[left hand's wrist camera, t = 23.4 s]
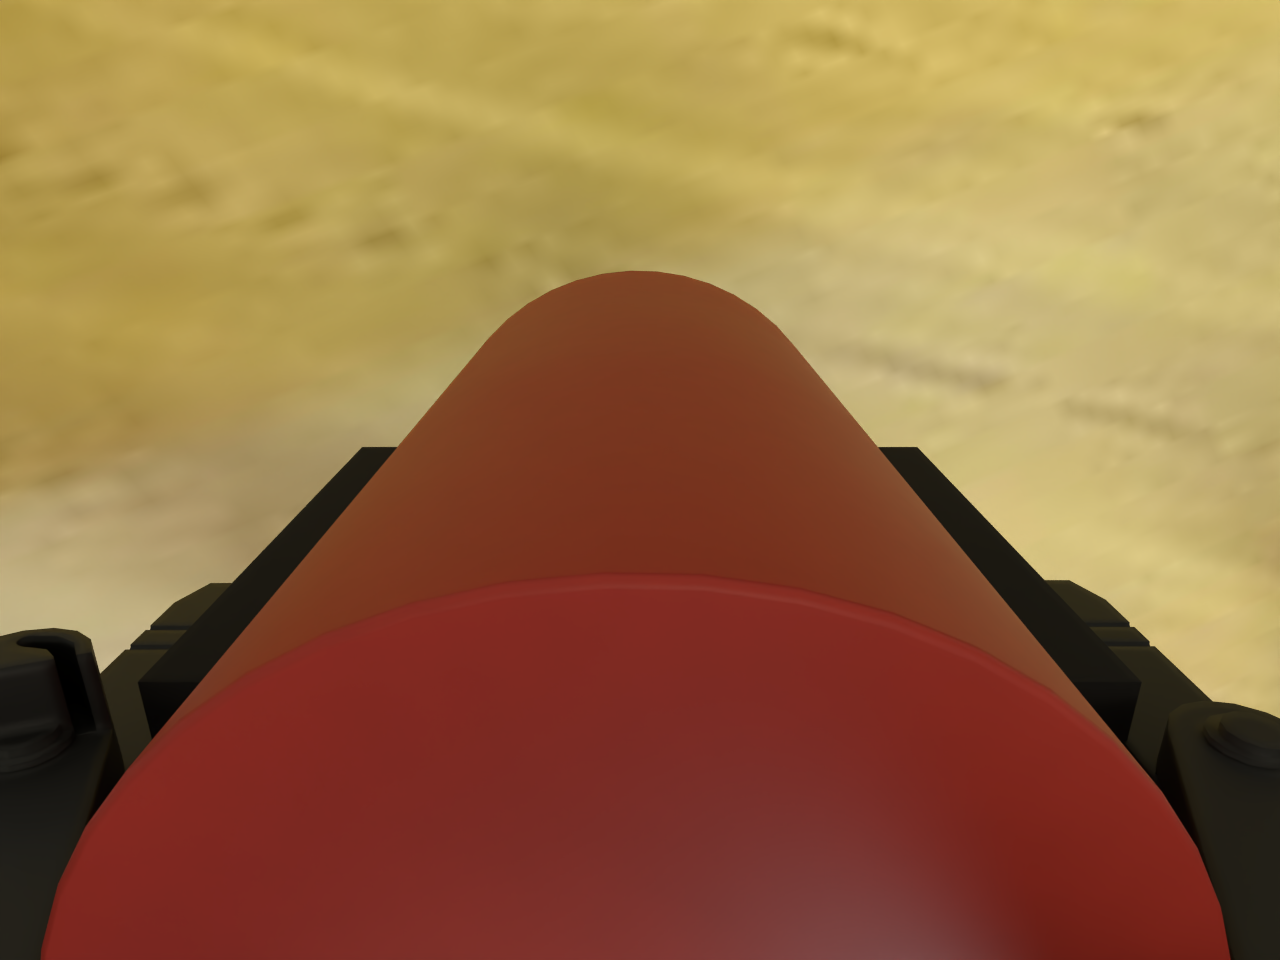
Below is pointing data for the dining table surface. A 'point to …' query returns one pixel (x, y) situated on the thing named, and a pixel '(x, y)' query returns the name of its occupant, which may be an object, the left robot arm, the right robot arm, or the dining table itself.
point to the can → (636, 700)
